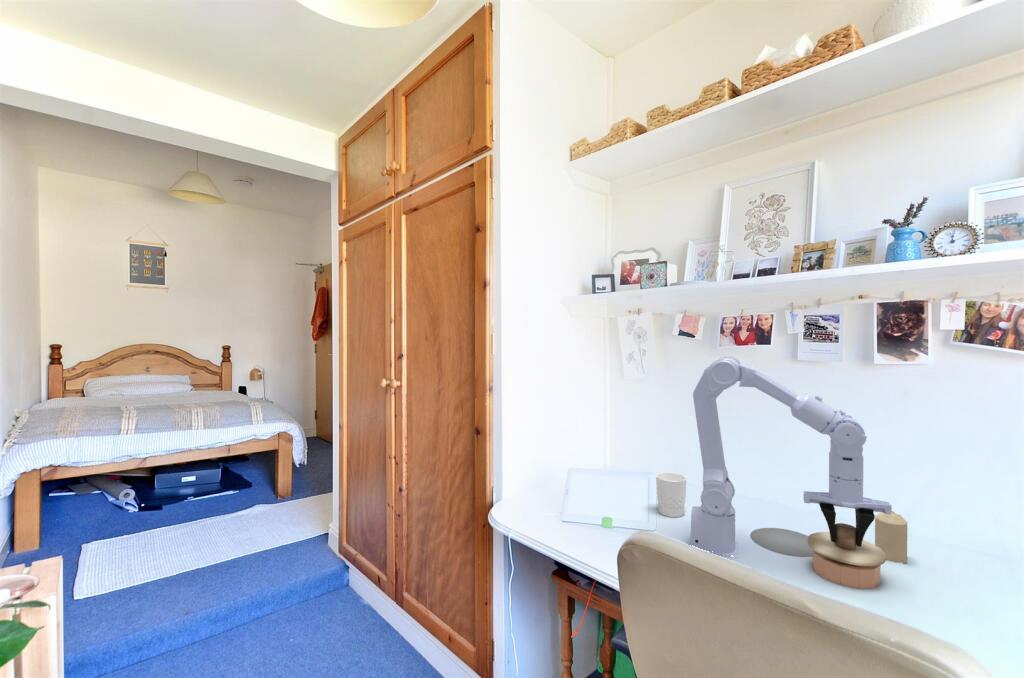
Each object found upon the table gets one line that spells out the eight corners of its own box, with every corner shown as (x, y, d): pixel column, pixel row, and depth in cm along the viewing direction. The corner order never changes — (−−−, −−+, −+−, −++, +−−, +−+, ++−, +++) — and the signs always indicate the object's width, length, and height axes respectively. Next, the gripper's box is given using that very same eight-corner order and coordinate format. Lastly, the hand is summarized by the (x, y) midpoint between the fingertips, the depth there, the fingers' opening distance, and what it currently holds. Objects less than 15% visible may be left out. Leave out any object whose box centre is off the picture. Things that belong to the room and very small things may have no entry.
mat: (749, 549, 107) (749, 548, 107) (750, 525, 120) (750, 523, 120) (828, 564, 100) (828, 562, 100) (819, 536, 113) (819, 535, 113)
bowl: (816, 581, 94) (816, 561, 93) (810, 557, 103) (810, 539, 103) (885, 595, 88) (885, 574, 88) (872, 568, 98) (872, 550, 98)
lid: (808, 555, 94) (808, 531, 94) (806, 530, 105) (807, 509, 105) (891, 573, 87) (891, 547, 87) (880, 545, 98) (880, 522, 98)
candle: (875, 549, 107) (875, 506, 106) (906, 557, 103) (907, 512, 103) (874, 559, 102) (874, 513, 102) (907, 567, 99) (907, 520, 99)
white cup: (689, 519, 124) (689, 482, 124) (658, 517, 126) (658, 480, 126) (683, 508, 132) (683, 472, 132) (654, 506, 134) (654, 471, 133)
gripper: (805, 477, 95) (805, 543, 96) (895, 487, 88) (895, 558, 89) (802, 467, 101) (802, 529, 102) (886, 477, 95) (886, 543, 95)
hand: (845, 542), depth 96 cm, fingers closed on lid, 4 cm apart
